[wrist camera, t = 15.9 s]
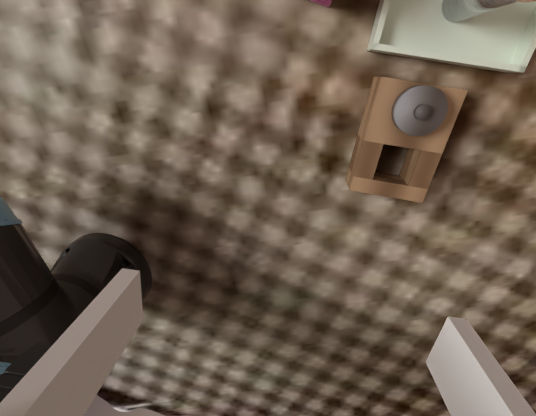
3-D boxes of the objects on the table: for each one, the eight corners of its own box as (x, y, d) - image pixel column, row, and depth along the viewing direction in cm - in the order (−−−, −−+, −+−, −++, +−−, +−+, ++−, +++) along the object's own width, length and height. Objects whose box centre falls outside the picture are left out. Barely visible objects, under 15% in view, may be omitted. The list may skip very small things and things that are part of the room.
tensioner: (345, 179, 40) (353, 197, 34) (373, 76, 34) (388, 76, 28) (411, 191, 39) (430, 211, 34) (450, 88, 34) (481, 91, 28)
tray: (366, 51, 33) (371, 49, 31) (398, -74, 29) (406, -87, 27) (508, 73, 33) (523, 72, 31) (564, -51, 28) (586, -63, 26)
